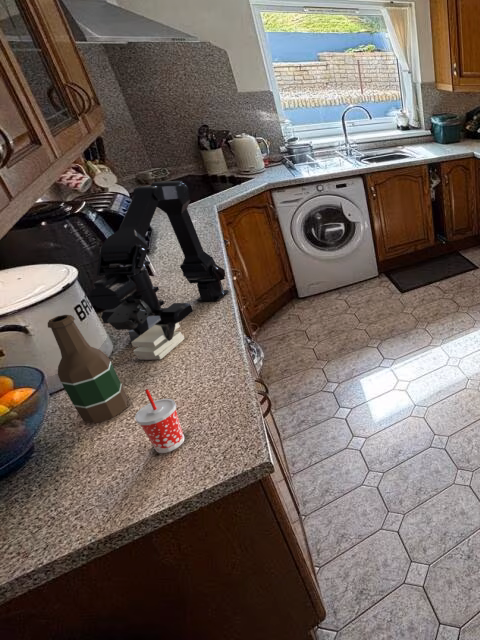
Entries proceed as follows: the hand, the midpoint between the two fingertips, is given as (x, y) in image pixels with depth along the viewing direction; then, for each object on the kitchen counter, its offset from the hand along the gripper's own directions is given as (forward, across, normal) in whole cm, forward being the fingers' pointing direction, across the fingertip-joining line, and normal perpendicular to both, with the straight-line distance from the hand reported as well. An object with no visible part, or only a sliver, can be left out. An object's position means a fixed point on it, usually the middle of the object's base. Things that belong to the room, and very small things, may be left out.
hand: (159, 339), depth 109 cm
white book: (-1, 0, 0) cm, 1 cm away
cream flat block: (+3, 0, 0) cm, 3 cm away
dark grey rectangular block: (+3, -9, +9) cm, 13 cm away
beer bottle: (+3, +4, -22) cm, 23 cm away
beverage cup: (+3, +24, -31) cm, 39 cm away
